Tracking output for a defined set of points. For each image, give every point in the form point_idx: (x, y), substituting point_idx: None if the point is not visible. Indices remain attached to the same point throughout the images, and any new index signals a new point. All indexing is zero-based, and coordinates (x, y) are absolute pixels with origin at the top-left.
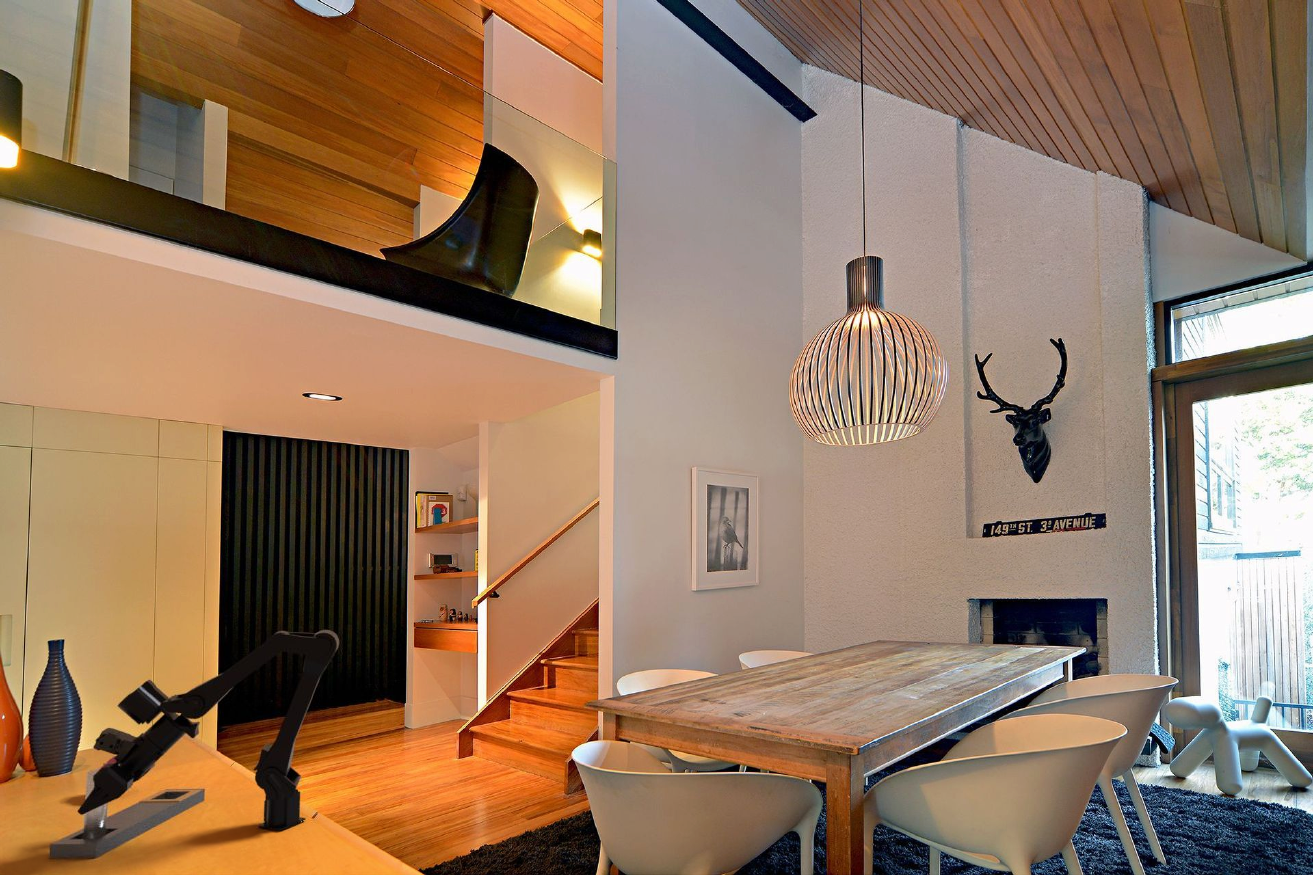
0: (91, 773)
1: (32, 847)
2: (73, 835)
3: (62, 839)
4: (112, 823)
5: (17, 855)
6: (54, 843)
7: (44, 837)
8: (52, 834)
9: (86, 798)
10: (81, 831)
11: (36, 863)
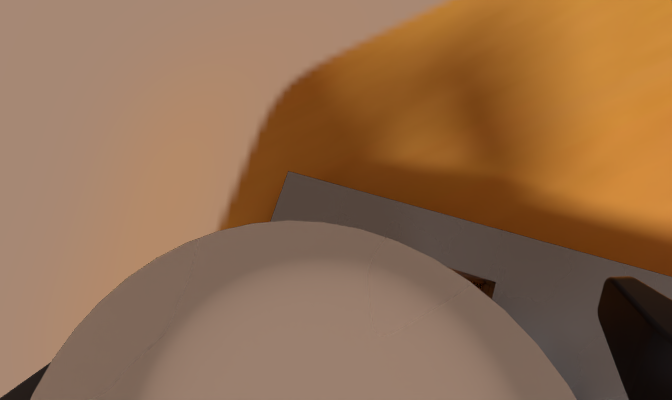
0: (82, 396)
1: (481, 53)
2: (394, 230)
3: (343, 200)
4: (577, 383)
5: (391, 46)
6: (291, 187)
7: (623, 34)
8: (665, 48)
9: (4, 395)
10: (456, 245)
11: (263, 165)
